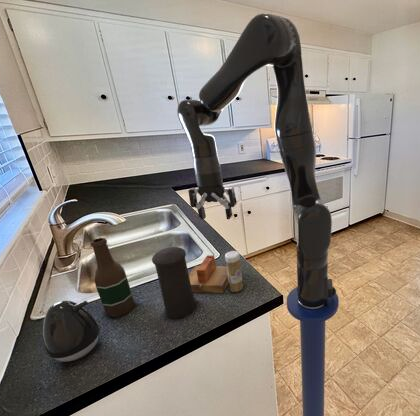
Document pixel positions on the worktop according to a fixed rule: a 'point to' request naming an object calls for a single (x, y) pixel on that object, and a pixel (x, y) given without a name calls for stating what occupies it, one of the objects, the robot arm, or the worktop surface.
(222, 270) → the holder base
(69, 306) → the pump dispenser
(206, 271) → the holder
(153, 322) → the worktop surface
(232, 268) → the sprinkles bottle
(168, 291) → the container
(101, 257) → the beer bottle
